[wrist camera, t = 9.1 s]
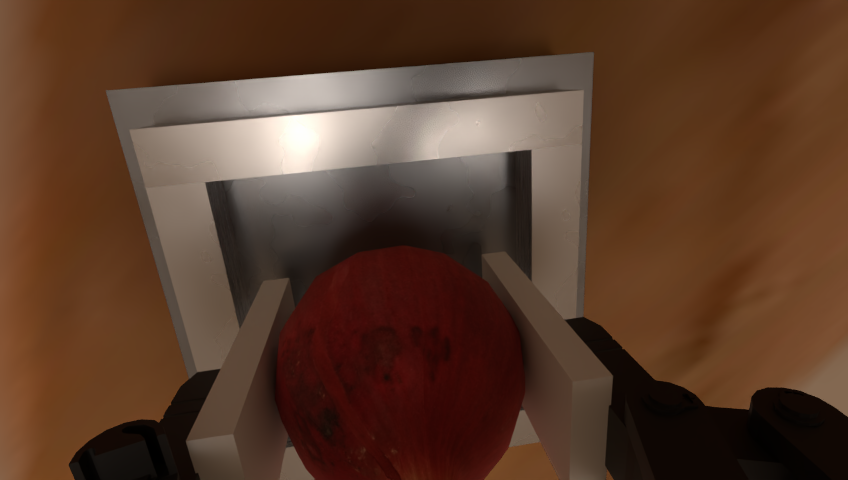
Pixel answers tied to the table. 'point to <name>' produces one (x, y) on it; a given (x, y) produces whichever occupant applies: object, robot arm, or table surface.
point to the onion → (399, 370)
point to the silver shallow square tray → (358, 183)
